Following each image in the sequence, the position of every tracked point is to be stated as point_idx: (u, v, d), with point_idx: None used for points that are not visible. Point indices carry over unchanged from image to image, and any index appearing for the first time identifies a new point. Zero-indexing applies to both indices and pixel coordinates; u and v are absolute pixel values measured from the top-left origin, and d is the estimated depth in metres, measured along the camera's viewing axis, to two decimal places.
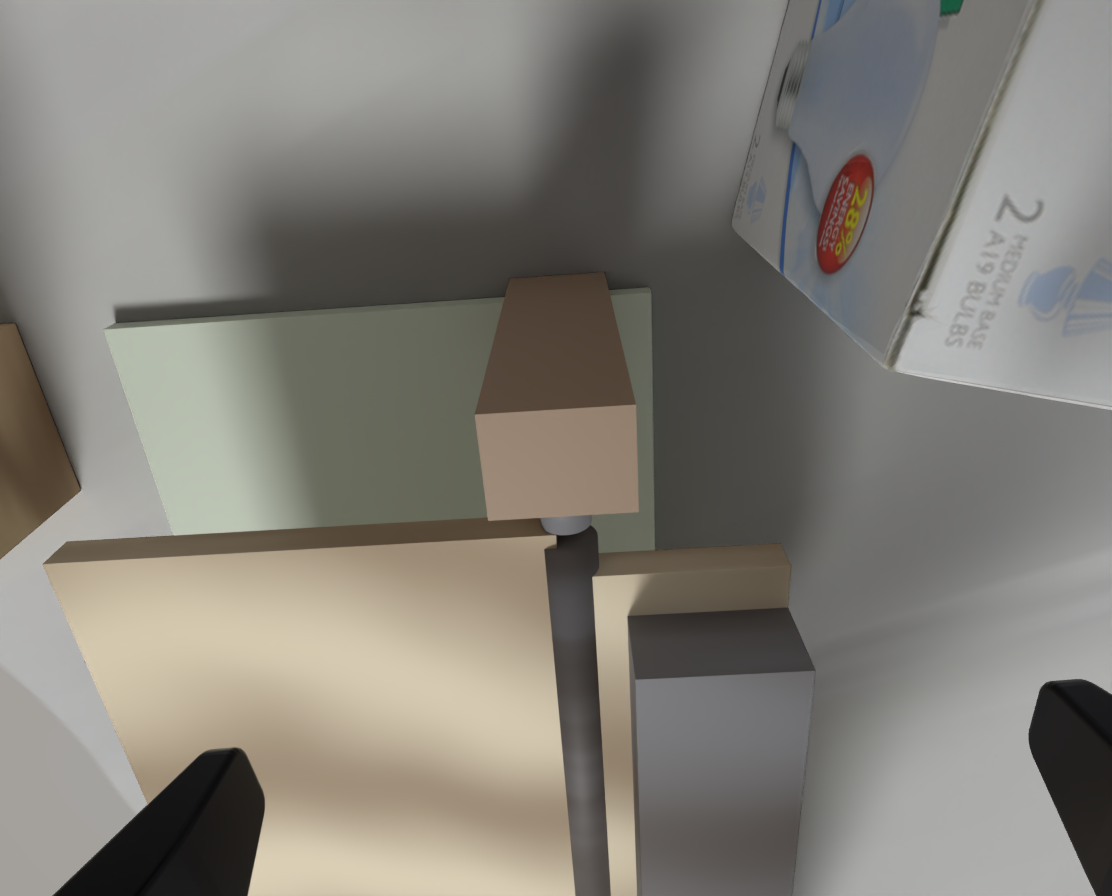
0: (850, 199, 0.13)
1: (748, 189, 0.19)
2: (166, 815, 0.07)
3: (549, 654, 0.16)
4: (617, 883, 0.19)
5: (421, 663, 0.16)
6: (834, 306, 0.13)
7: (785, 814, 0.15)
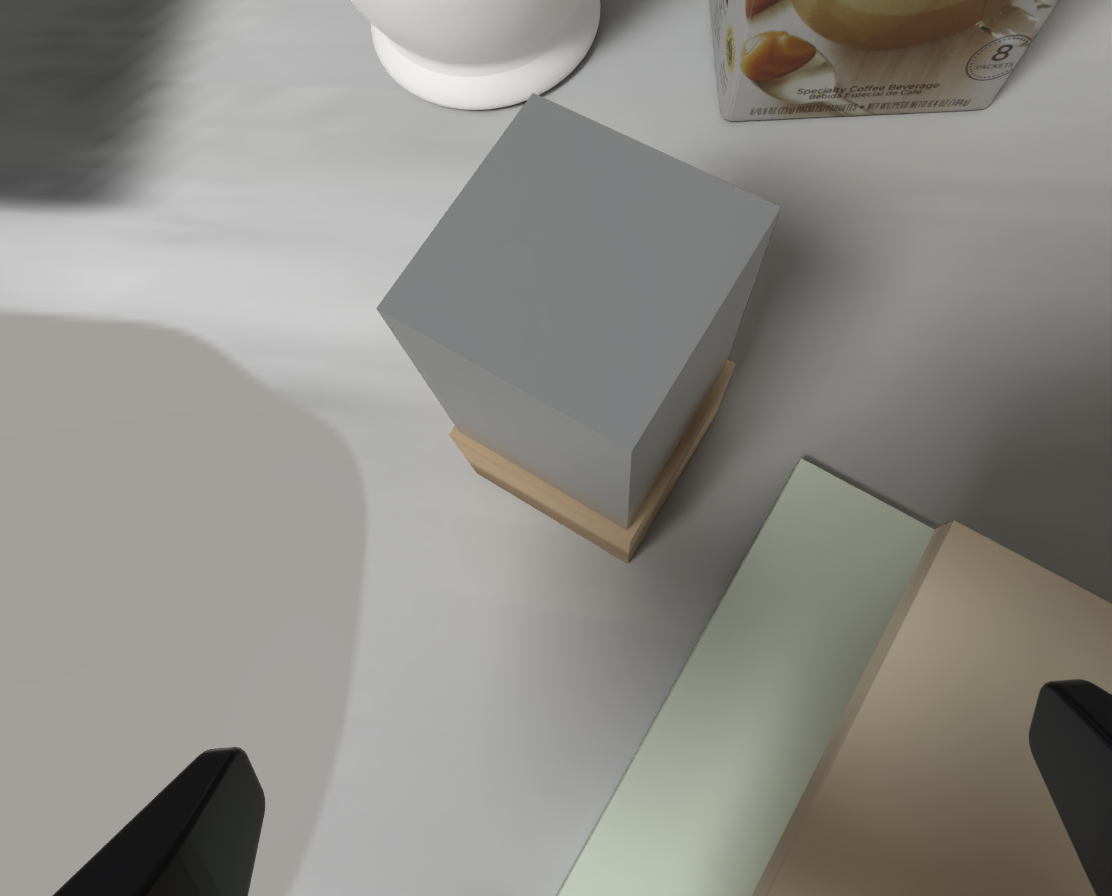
0: None
1: None
2: (166, 815, 0.07)
3: None
4: None
5: None
6: None
7: None
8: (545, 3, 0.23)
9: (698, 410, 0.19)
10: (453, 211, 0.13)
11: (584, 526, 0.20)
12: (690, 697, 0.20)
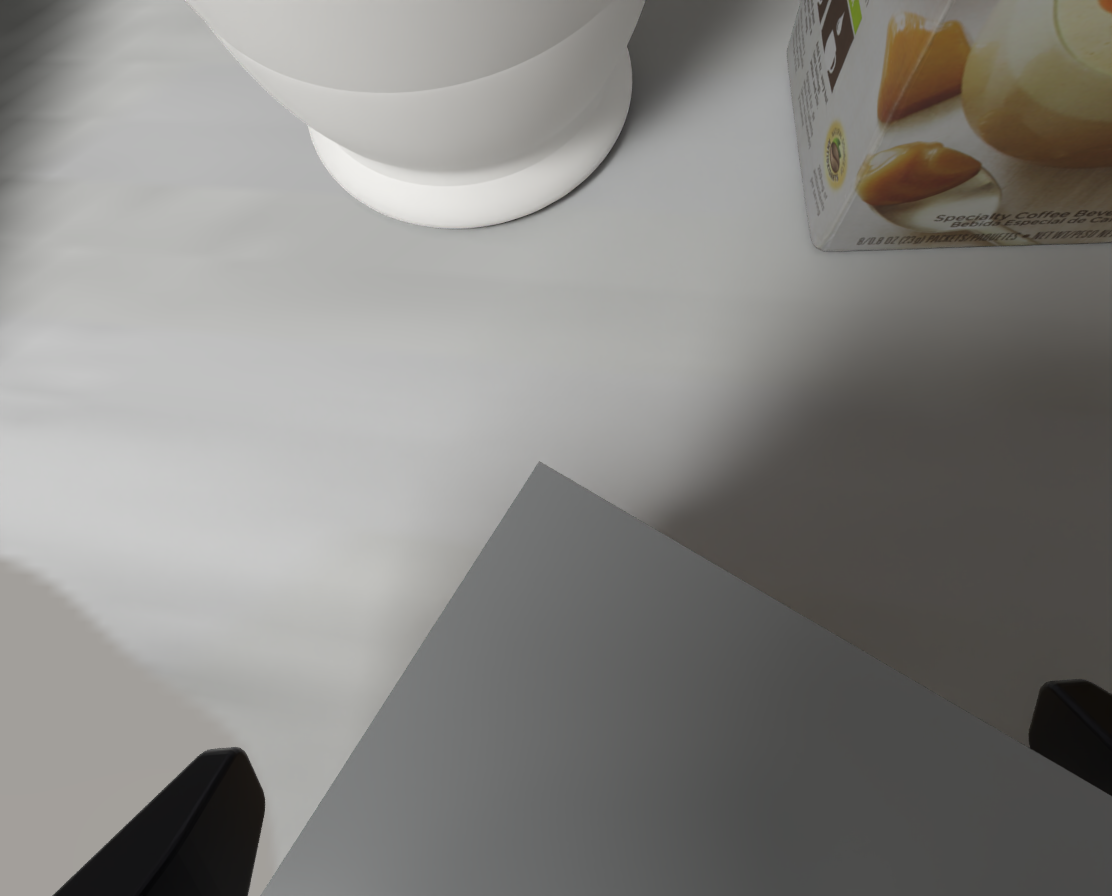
0: None
1: None
2: (166, 815, 0.07)
3: None
4: None
5: None
6: None
7: None
8: (555, 93, 0.15)
9: None
10: (325, 824, 0.05)
11: None
12: None
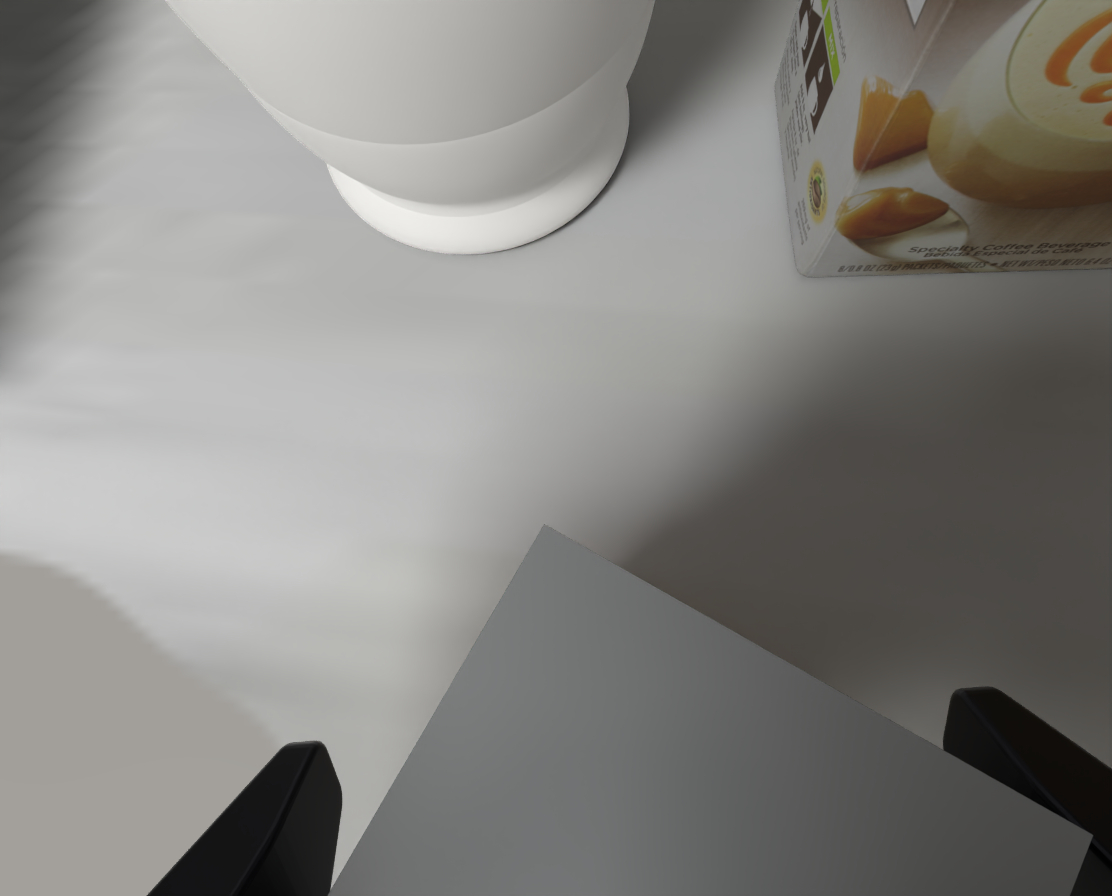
0: None
1: None
2: (257, 808, 0.07)
3: None
4: None
5: None
6: None
7: None
8: (558, 139, 0.16)
9: None
10: (387, 817, 0.06)
11: None
12: None
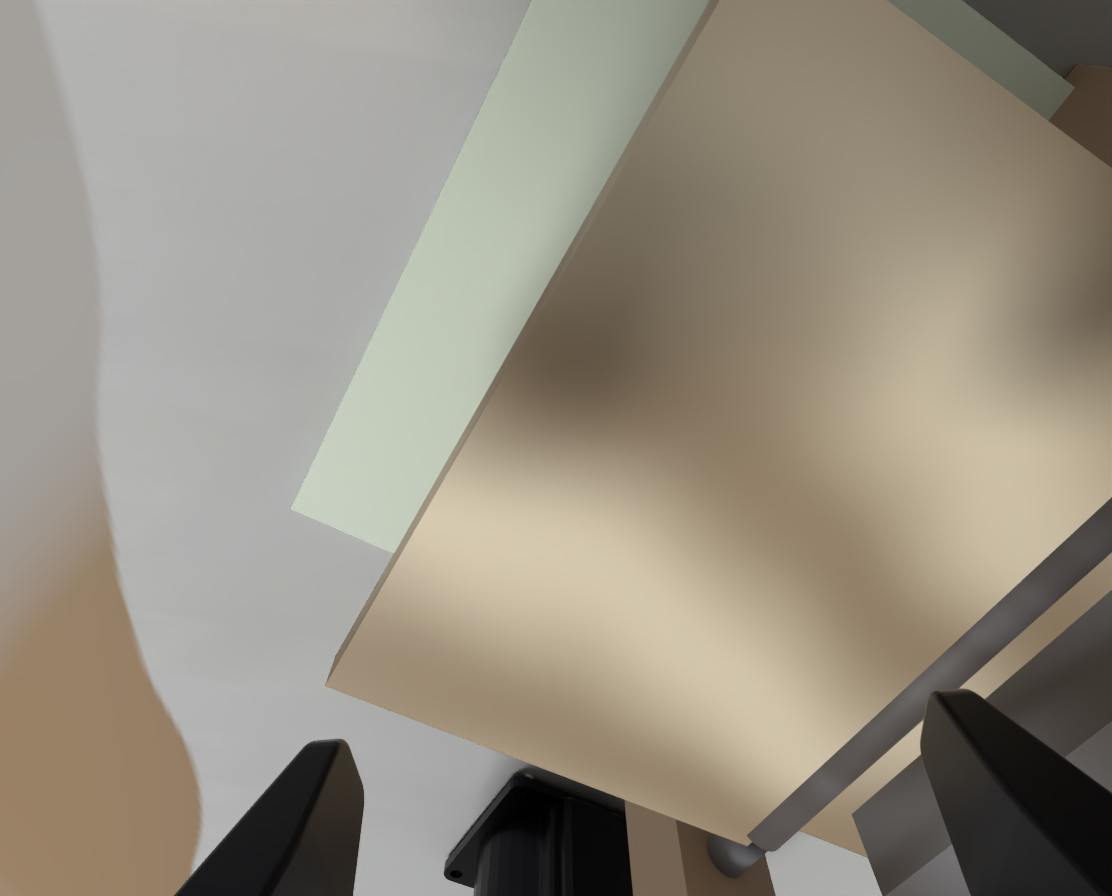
0: None
1: None
2: (283, 806, 0.07)
3: None
4: (888, 759, 0.15)
5: (1020, 391, 0.12)
6: None
7: None
8: None
9: None
10: None
11: None
12: (486, 149, 0.17)
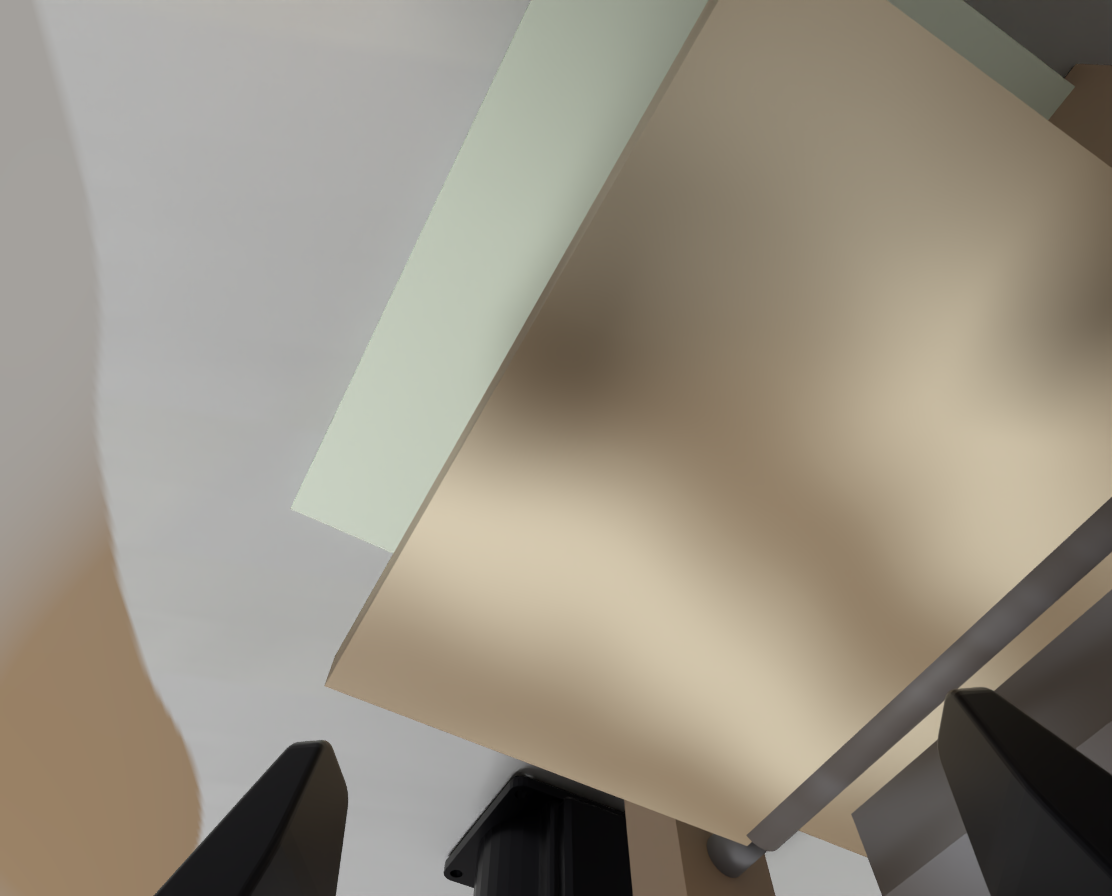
0: None
1: None
2: (265, 808, 0.07)
3: None
4: (887, 758, 0.15)
5: (1019, 390, 0.12)
6: None
7: None
8: None
9: None
10: None
11: None
12: (485, 149, 0.17)
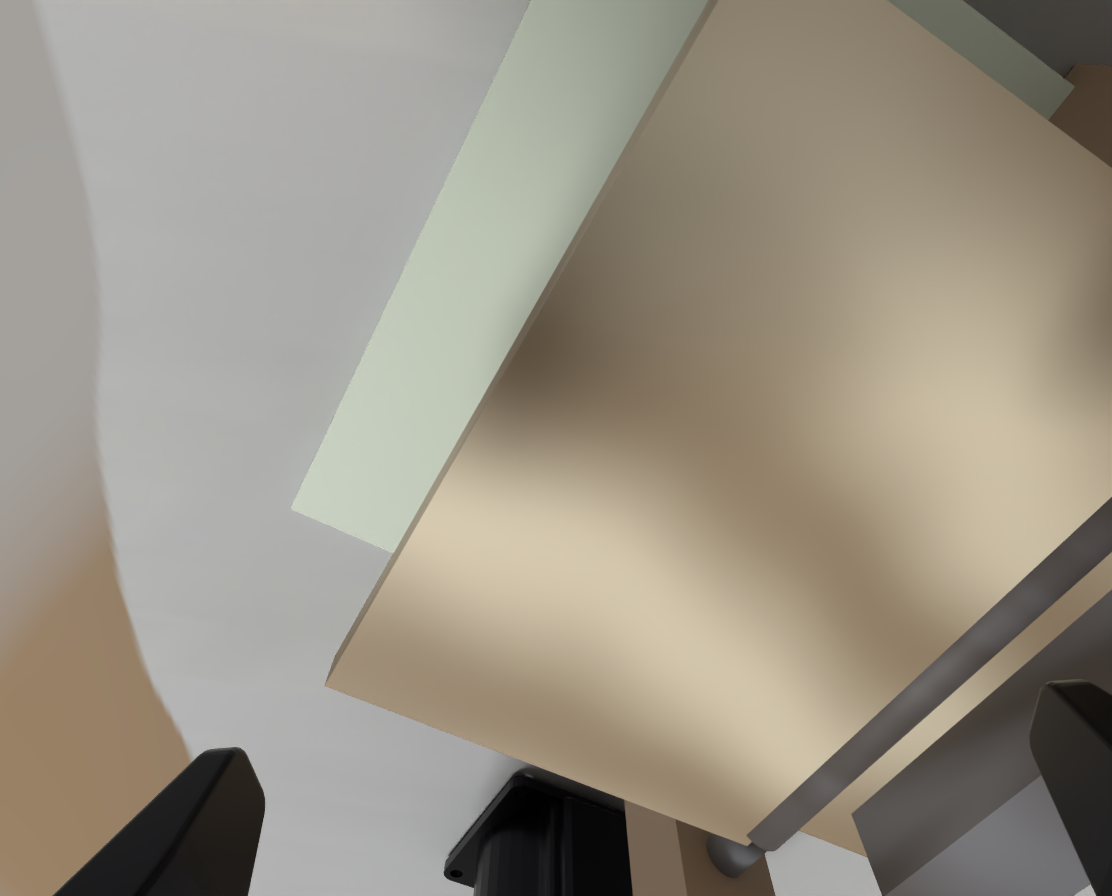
0: None
1: None
2: (166, 815, 0.07)
3: None
4: (887, 758, 0.15)
5: (1019, 390, 0.12)
6: None
7: None
8: None
9: None
10: None
11: None
12: (485, 149, 0.17)
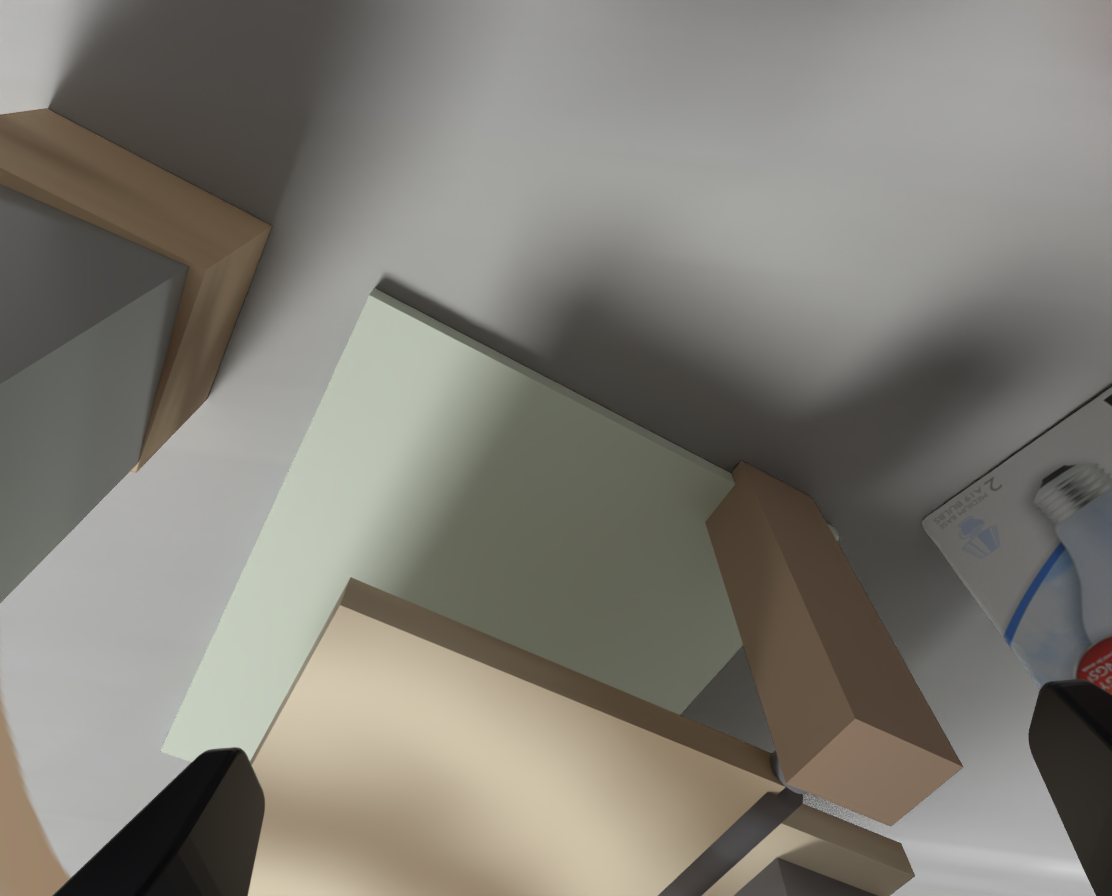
0: None
1: (966, 515, 0.22)
2: (166, 815, 0.07)
3: (696, 857, 0.17)
4: None
5: (591, 820, 0.16)
6: None
7: None
8: None
9: (171, 329, 0.16)
10: None
11: None
12: (285, 522, 0.22)
